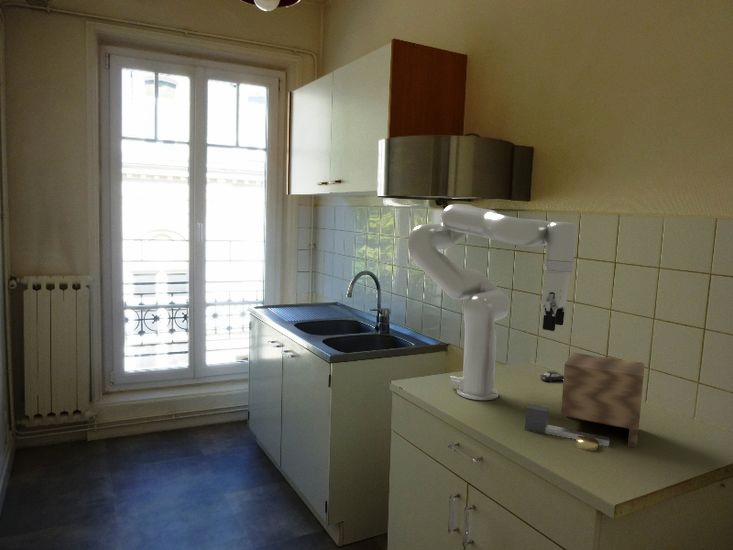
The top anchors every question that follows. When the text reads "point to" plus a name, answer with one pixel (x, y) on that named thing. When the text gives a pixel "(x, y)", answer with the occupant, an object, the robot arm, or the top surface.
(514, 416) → the top surface
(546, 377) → the toy car
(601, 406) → the cabinet
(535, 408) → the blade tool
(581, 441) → the token
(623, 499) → the top surface
